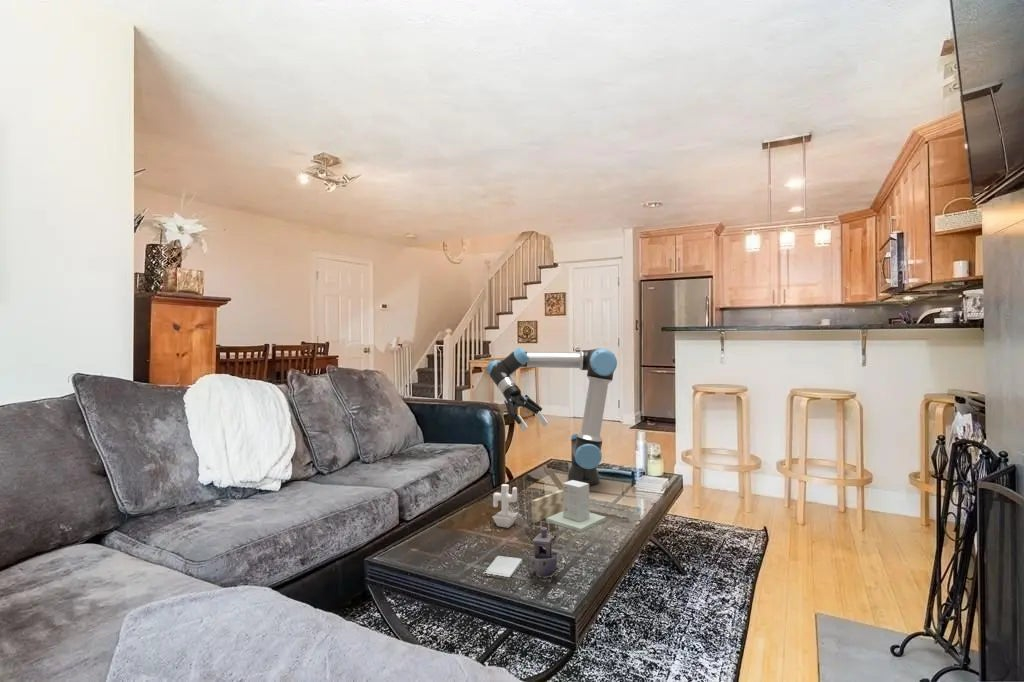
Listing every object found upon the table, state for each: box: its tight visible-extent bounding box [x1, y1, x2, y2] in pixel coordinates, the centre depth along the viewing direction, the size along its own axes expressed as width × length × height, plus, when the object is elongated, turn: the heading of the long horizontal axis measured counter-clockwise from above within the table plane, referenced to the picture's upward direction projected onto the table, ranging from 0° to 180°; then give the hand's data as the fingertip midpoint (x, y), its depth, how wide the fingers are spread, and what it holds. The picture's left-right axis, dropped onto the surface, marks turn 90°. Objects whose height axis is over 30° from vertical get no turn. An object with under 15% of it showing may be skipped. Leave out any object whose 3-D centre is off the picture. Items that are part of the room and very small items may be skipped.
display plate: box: [545, 511, 607, 533], centre depth 192 cm, size 16×16×1 cm
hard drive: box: [484, 555, 523, 577], centre depth 152 cm, size 2×8×12 cm
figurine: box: [491, 483, 518, 529], centre depth 188 cm, size 7×9×15 cm
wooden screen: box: [531, 488, 563, 524], centre depth 199 cm, size 24×2×8 cm, turn 137°
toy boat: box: [528, 526, 560, 579], centre depth 148 cm, size 15×8×13 cm, turn 164°
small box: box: [562, 480, 591, 522], centre depth 191 cm, size 8×6×13 cm
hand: (536, 426), depth 216 cm, fingers open, 13 cm apart
